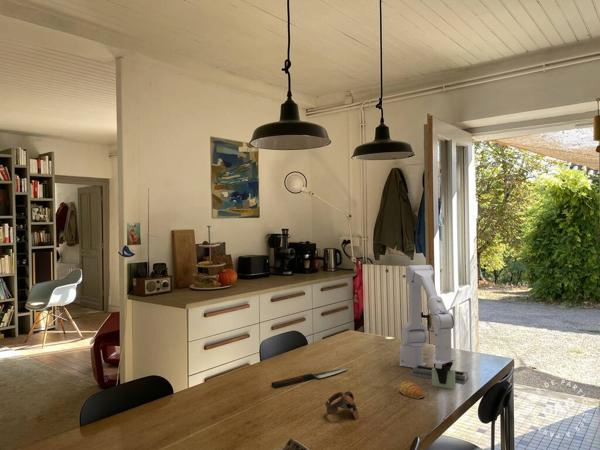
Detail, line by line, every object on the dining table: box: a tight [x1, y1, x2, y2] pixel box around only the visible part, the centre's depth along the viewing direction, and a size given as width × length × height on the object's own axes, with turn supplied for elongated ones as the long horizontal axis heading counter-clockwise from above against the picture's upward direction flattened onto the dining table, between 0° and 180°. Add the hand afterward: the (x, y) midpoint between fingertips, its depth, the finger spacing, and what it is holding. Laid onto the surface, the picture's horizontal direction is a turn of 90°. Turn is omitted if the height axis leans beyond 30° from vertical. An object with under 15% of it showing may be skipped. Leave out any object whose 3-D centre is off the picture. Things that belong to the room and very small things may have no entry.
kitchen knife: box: [270, 368, 348, 389], centre depth 180 cm, size 36×2×5 cm
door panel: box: [431, 368, 456, 390], centre depth 170 cm, size 8×2×6 cm, turn 58°
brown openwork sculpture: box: [324, 390, 359, 421], centre depth 146 cm, size 12×10×8 cm
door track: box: [411, 365, 469, 385], centre depth 180 cm, size 20×8×2 cm, turn 58°
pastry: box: [398, 380, 426, 400], centre depth 162 cm, size 9×7×4 cm
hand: (443, 382), depth 170 cm, fingers closed on door panel, 2 cm apart
